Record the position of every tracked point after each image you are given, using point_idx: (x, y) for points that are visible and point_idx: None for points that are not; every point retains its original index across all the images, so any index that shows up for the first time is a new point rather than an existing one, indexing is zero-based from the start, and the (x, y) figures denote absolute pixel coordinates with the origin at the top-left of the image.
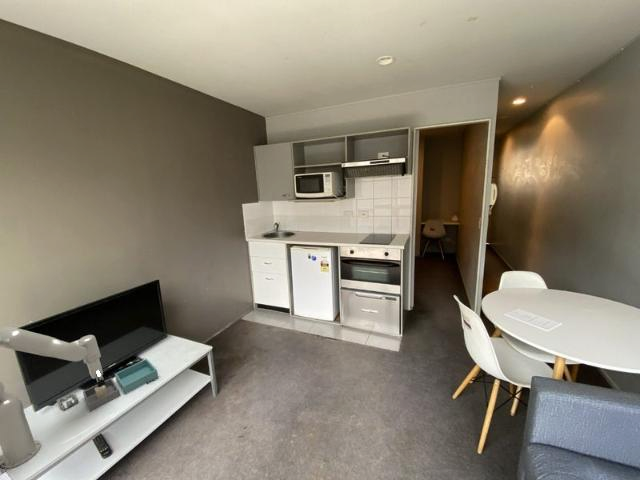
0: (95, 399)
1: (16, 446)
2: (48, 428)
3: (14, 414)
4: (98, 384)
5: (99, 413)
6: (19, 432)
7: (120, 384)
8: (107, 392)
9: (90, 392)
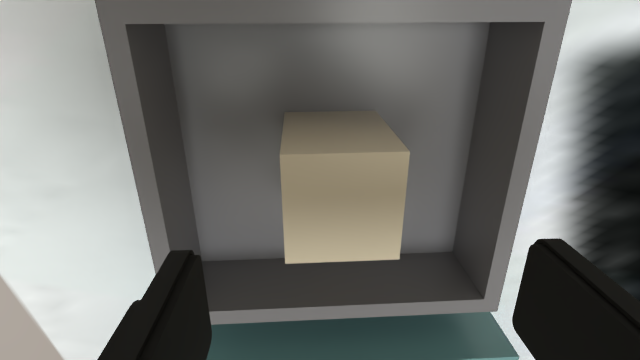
0: (342, 91)
1: None
2: None
3: None
4: (143, 309)
5: (69, 72)
6: None
7: (298, 334)
8: None
9: (499, 78)
